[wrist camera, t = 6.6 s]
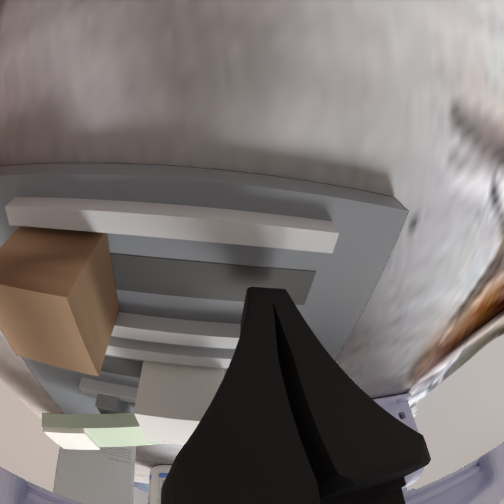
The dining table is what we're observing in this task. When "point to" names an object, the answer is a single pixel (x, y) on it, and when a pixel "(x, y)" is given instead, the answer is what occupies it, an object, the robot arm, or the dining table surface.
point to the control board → (201, 259)
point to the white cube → (174, 399)
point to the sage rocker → (94, 430)
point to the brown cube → (58, 297)
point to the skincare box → (96, 475)
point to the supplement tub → (157, 482)
